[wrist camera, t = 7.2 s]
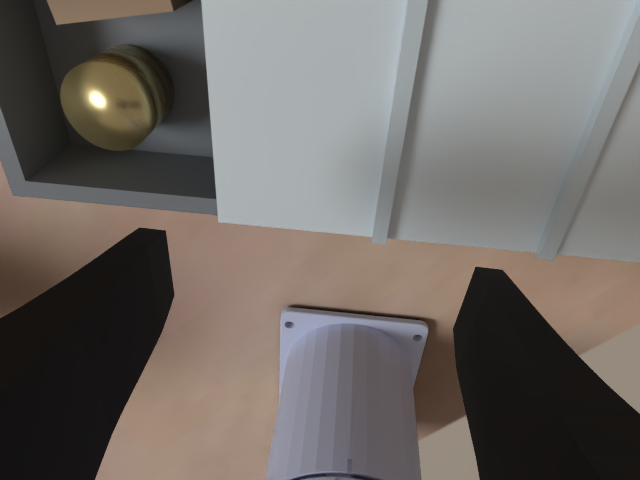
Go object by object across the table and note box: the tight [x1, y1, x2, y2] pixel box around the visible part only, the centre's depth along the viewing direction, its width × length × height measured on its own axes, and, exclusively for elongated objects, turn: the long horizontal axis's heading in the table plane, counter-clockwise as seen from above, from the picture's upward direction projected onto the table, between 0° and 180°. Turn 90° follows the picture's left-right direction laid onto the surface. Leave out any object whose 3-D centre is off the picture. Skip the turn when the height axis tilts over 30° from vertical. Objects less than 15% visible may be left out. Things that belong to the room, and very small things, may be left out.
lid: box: [201, 0, 640, 263], centre depth 12 cm, size 11×19×4 cm, turn 87°
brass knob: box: [60, 44, 175, 151], centre depth 18 cm, size 3×3×3 cm
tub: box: [0, 0, 218, 215], centre depth 16 cm, size 12×18×4 cm, turn 87°
